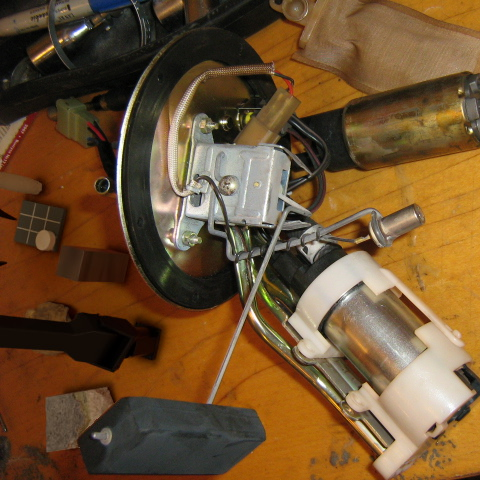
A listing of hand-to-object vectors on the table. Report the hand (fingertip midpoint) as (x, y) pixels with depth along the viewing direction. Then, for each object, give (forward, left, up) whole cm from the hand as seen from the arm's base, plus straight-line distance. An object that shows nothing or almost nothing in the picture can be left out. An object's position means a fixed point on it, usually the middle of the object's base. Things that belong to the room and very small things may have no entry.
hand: (10, 240), depth 96 cm
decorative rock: (-5, +18, -11) cm, 21 cm away
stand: (-19, +1, -10) cm, 22 cm away
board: (+6, -4, -10) cm, 12 cm away
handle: (+10, -12, -11) cm, 19 cm away
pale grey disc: (+1, -1, -9) cm, 9 cm away
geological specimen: (-21, +32, -11) cm, 40 cm away
